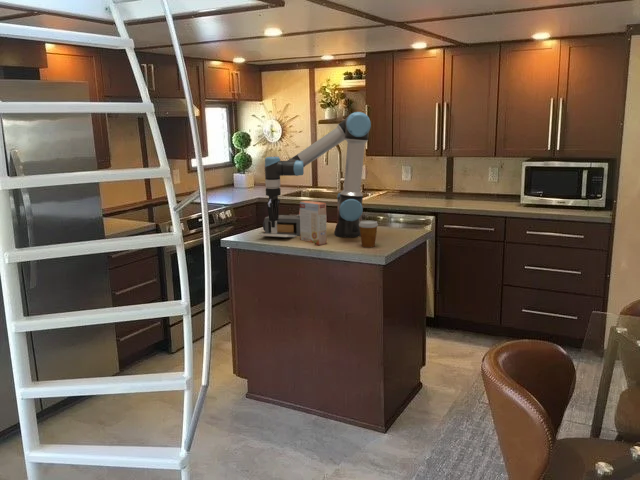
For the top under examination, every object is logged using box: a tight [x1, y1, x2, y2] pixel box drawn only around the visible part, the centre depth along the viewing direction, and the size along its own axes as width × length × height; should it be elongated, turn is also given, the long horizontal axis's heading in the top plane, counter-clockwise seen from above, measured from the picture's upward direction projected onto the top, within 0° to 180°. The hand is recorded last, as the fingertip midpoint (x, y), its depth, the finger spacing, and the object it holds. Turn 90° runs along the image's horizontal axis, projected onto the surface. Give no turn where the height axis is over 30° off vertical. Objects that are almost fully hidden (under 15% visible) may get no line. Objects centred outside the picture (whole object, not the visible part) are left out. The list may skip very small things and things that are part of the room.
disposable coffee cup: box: [359, 220, 379, 248], centre depth 286 cm, size 10×10×12 cm
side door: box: [258, 232, 297, 238], centre depth 305 cm, size 16×1×13 cm
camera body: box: [262, 214, 300, 237], centre depth 316 cm, size 22×10×11 cm, turn 73°
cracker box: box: [299, 200, 328, 246], centre depth 295 cm, size 14×6×21 cm, turn 43°
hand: (274, 233), depth 300 cm, fingers closed
